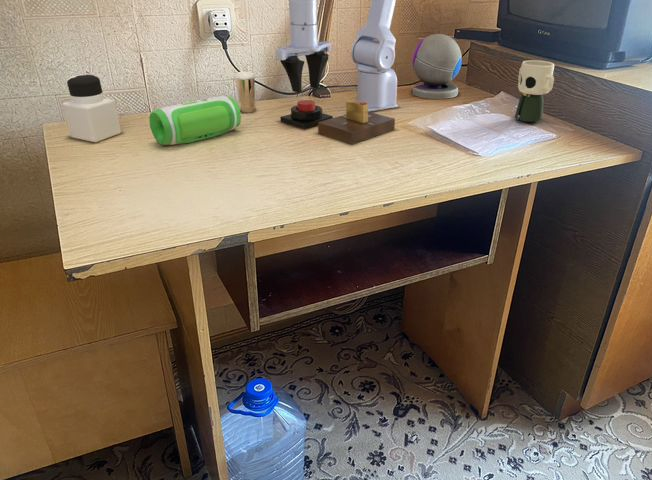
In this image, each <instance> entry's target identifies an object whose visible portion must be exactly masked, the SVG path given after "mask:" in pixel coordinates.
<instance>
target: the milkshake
mask: <svg viewBox="0 0 652 480" xmlns="http://www.w3.org/2000/svg"><path fill="white" fill-rule="evenodd" d="M255 78H256V76H255V74H254V73H253V72H252V71H249V64H246V70H245V71H238V72H237V73H235V75H234V79H235V84H236V89H237V96H238V101H239V108H240V112H241V113H254V112H255V110H256V105H255V104H256V102H255V101H256V99H255V98H256V97H255V95H256V94H255V92H256V90H255V83H256V82H255V81H256V80H255Z"/></svg>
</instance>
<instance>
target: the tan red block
mask: <svg viewBox="0 0 652 480" xmlns="http://www.w3.org/2000/svg"><path fill="white" fill-rule="evenodd" d="M345 106H346V107H345V108H346V109H345V112H346V113H345V114H346V119H350V120H353V121H357V122H360V123H366V122H368V104H367V103H365V102H358V101H357V100H354V99H349V100H346V103H345Z"/></svg>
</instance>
